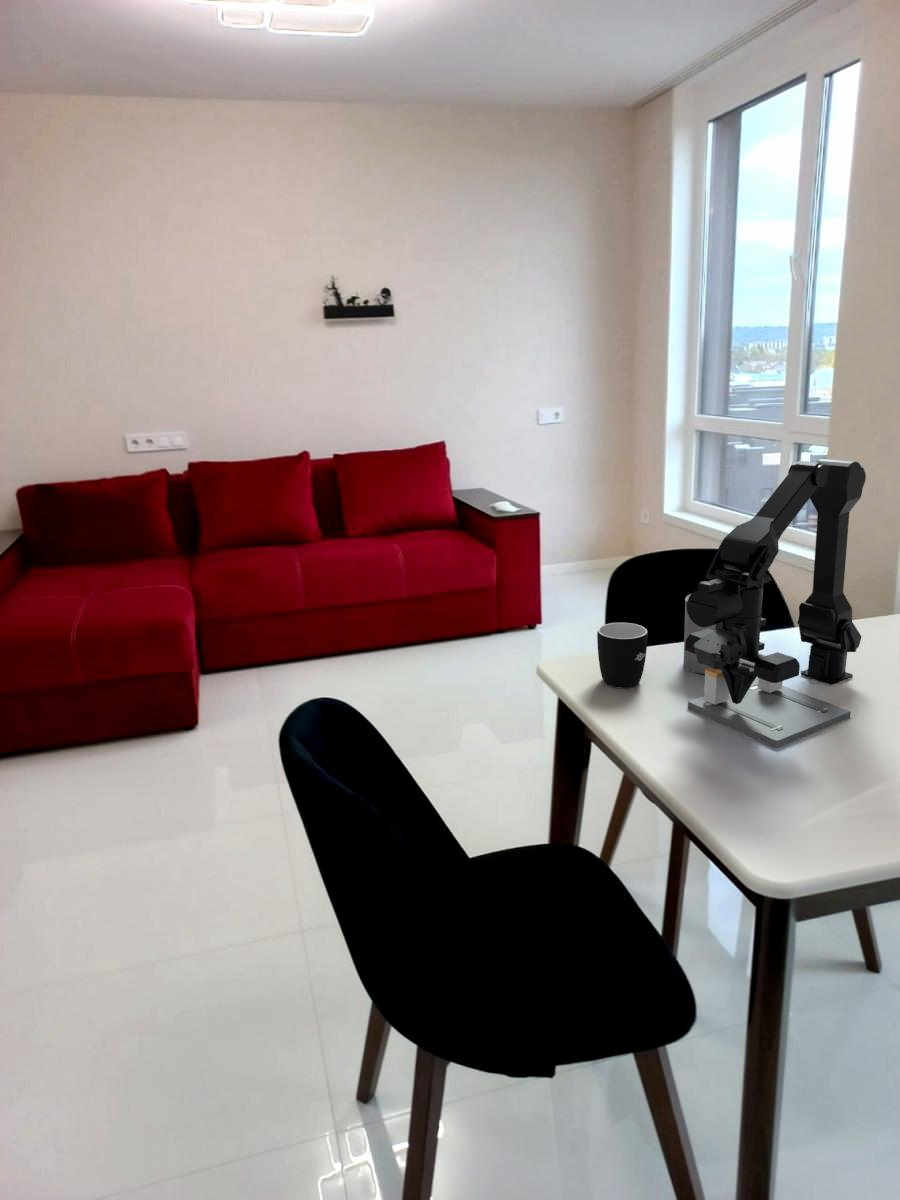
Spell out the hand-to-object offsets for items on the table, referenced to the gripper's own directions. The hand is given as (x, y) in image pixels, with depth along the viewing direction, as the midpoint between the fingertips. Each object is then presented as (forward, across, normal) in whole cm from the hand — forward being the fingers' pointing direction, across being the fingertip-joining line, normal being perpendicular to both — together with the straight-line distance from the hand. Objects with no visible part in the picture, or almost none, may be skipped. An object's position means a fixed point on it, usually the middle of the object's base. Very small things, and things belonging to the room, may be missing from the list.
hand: (736, 702), depth 134 cm
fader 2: (+1, -2, +11) cm, 11 cm away
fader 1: (+1, -4, 0) cm, 4 cm away
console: (+3, +2, +6) cm, 6 cm away
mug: (+3, -23, -4) cm, 24 cm away
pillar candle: (+3, -18, +13) cm, 23 cm away
